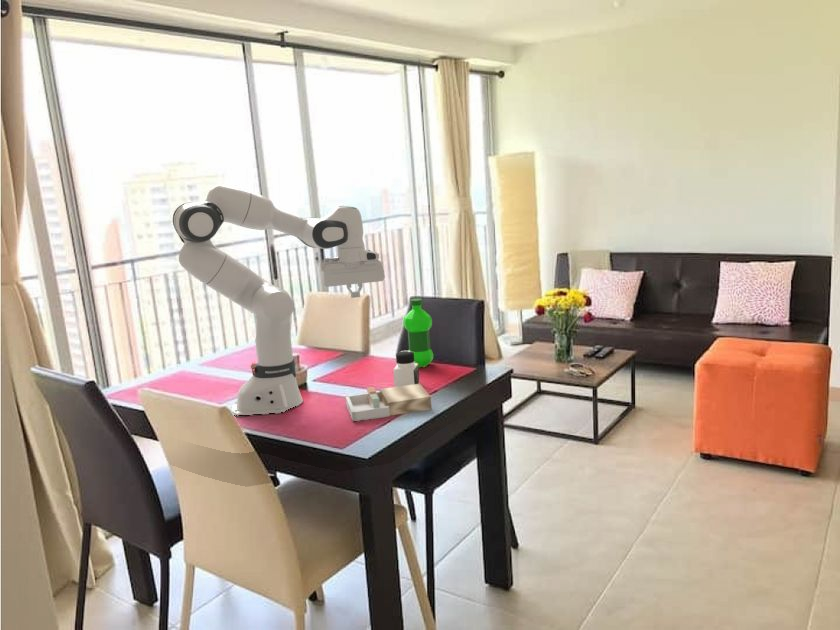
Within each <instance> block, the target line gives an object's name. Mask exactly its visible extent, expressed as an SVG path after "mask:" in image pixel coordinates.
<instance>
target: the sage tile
mask: <svg viewBox="0 0 840 630" xmlns="http://www.w3.org/2000/svg"><path fill="white" fill-rule="evenodd" d="M370 403H371V408H378V407H380V403H379V398H378V396H377V394H370Z"/></svg>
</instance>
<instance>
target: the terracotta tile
mask: <svg viewBox="0 0 840 630" xmlns="http://www.w3.org/2000/svg"><path fill="white" fill-rule="evenodd" d="M366 391H367V392H366V393H368V403H369V405H370V407H371V403H370V394H376V392H377V390H376V388H375V387H374V386H369V387H366Z"/></svg>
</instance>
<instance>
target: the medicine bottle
mask: <svg viewBox="0 0 840 630" xmlns="http://www.w3.org/2000/svg"><path fill="white" fill-rule="evenodd" d="M395 362H396V365H395V367H394V368H393V369H392V371H393V382H394V385H393V387H398V386H405V385H412V384H420V368H418V363H415V362H414V353H413V352H411V351H408V350H401V351H398V352H397V353H396V354H395Z"/></svg>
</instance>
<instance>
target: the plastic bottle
mask: <svg viewBox="0 0 840 630" xmlns="http://www.w3.org/2000/svg"><path fill="white" fill-rule="evenodd" d="M409 301H410V306H411V307H412V308H411V310H409V311H408V312H407V313H406V315H405V316H404V317H403V322H402V323H403V326H404V329H405V330H406V331H407V338H408V350H407V351H411V352H413V353H414V362H415V363H418V367H423V368H425V367H424V366H426V367H428V366H427V365H429V364H430V363H432V361H433V359H434V353H433V352H434V351H433V350H432V349H431V339H430V338H431V337H430V329H431V328H432V327H433V319H432V316H431V315H430V314H429V313H427V311H425V310H424V309H423V308H422V305H423V299H422V298H412V299H410V300H409Z"/></svg>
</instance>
